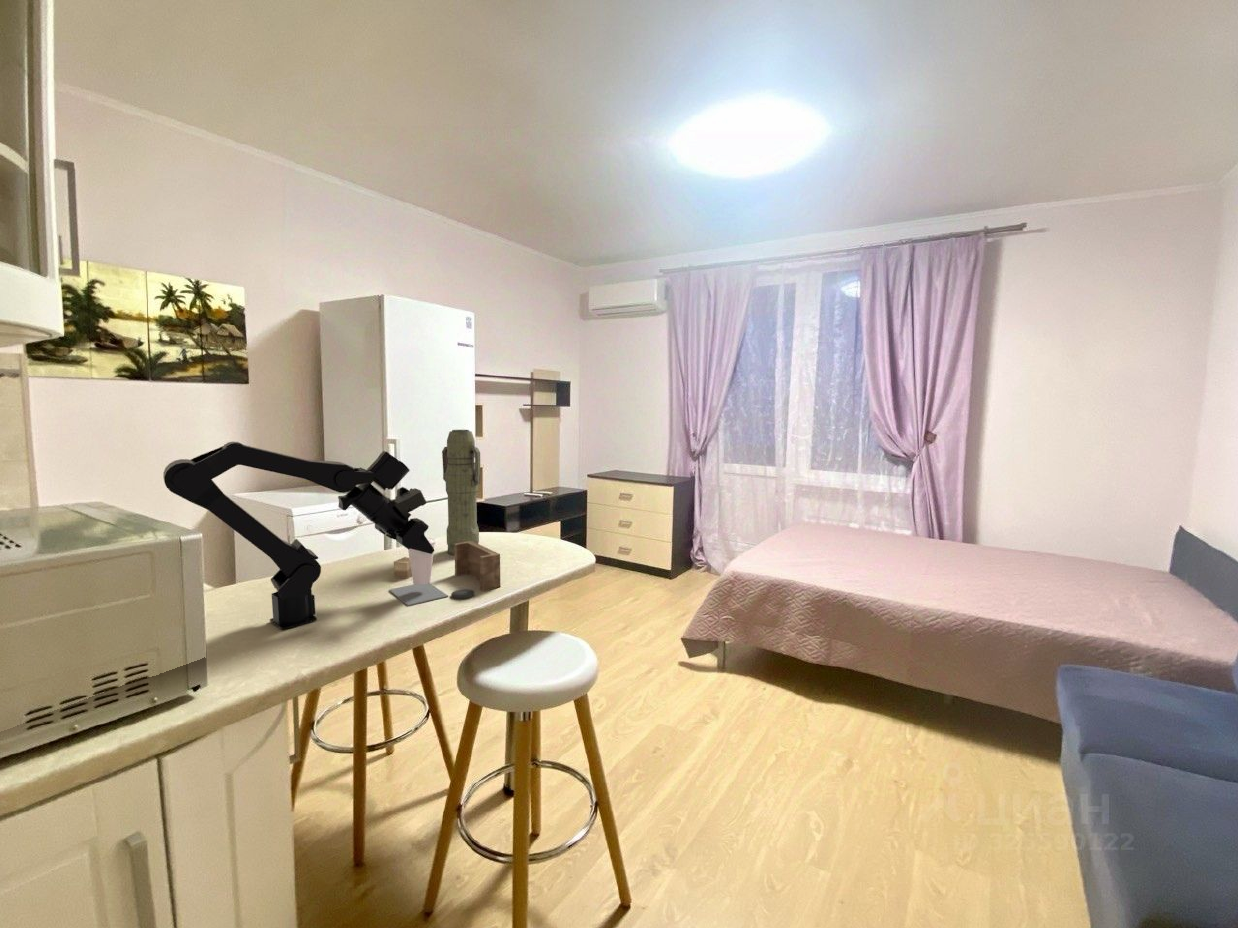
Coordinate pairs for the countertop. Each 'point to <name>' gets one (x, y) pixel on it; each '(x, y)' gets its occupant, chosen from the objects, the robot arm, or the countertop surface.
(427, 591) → the mat
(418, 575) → the smoothie
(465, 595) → the dark grey disc
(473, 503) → the thermos
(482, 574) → the cubby
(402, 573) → the oak cube
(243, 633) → the countertop surface
